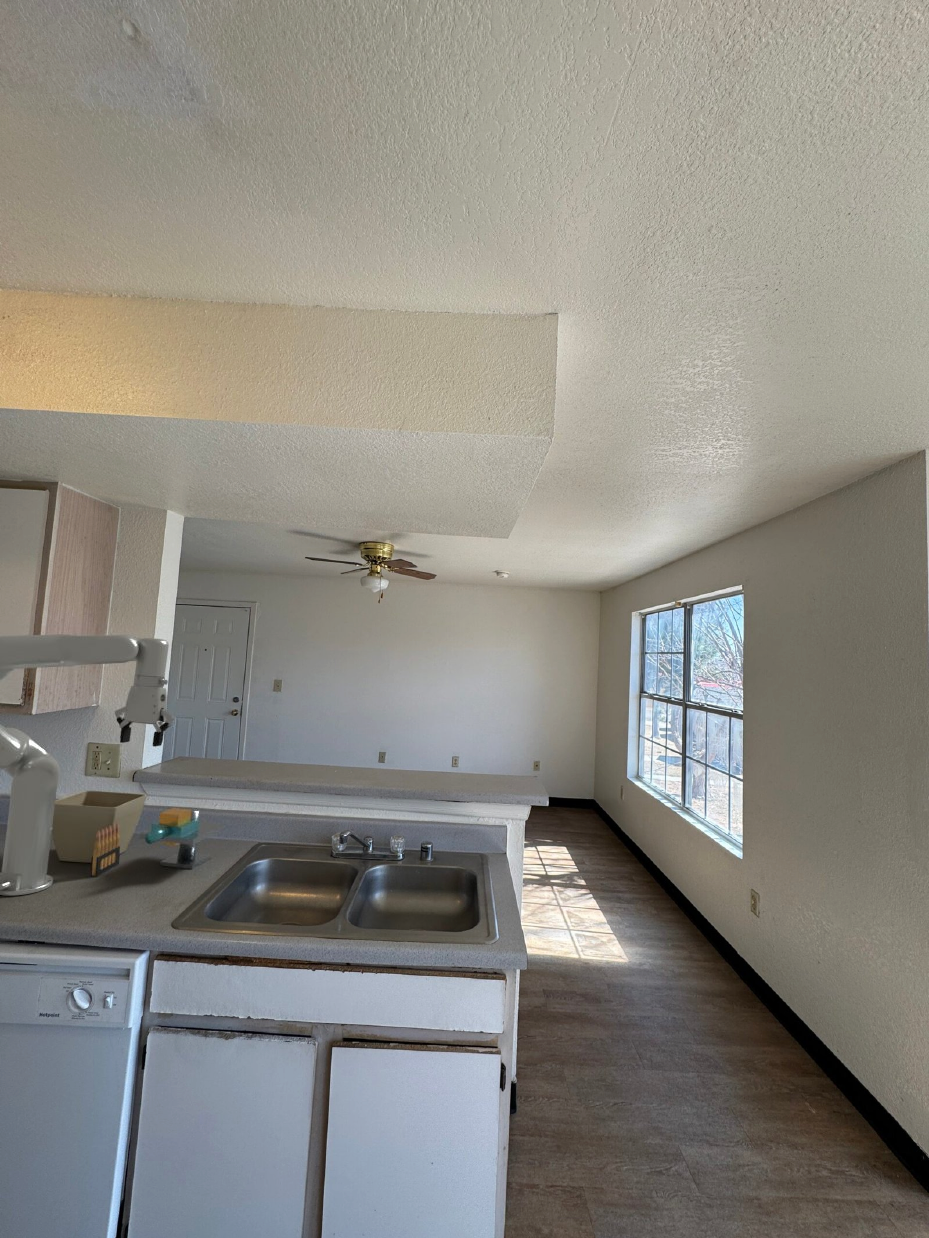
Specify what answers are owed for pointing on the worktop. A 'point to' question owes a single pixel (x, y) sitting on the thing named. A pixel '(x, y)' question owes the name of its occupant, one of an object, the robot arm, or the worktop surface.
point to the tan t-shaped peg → (174, 819)
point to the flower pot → (93, 821)
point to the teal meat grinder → (183, 839)
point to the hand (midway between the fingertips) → (140, 744)
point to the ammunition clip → (105, 850)
